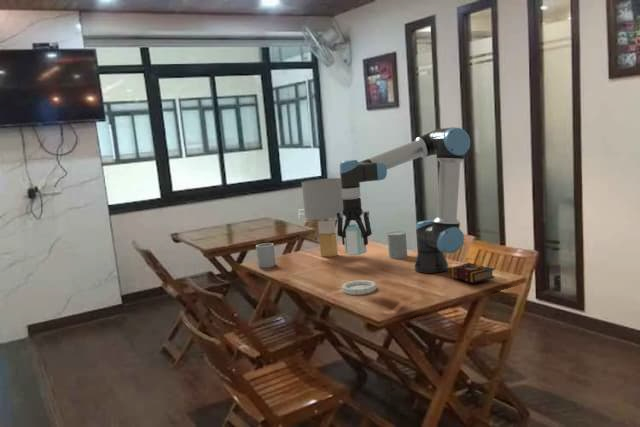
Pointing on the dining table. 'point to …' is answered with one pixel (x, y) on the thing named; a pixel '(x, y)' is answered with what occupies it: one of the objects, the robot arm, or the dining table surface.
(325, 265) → the dining table surface
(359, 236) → the can
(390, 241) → the grey concrete cylinder
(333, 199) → the lamp
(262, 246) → the cup
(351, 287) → the saucer
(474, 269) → the decorative book
